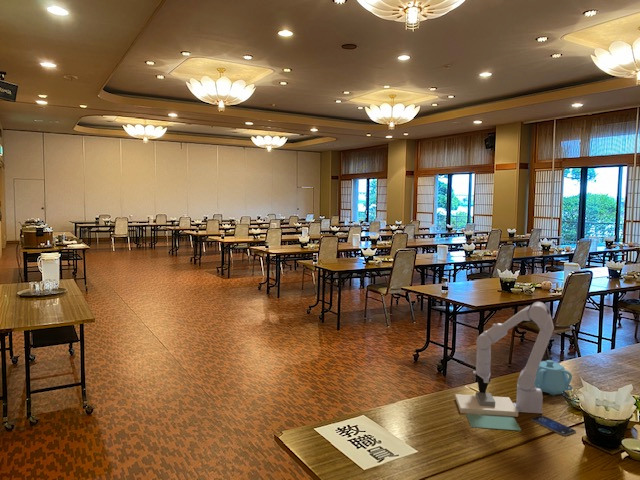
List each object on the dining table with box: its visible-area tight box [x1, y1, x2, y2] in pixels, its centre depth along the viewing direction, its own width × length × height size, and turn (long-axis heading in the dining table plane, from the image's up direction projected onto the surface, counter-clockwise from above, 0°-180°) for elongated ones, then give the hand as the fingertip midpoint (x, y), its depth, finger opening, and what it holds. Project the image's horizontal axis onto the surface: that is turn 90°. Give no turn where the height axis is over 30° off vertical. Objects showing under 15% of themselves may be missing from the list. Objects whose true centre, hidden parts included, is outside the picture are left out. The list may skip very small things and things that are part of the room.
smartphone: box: [530, 414, 577, 437], centre depth 183 cm, size 7×1×15 cm
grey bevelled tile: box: [475, 391, 495, 407], centre depth 199 cm, size 6×9×2 cm, turn 173°
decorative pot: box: [534, 359, 573, 396], centre depth 216 cm, size 16×16×14 cm
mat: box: [465, 413, 522, 432], centre depth 185 cm, size 18×11×1 cm, turn 83°
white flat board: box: [454, 393, 519, 418], centre depth 198 cm, size 22×14×2 cm, turn 83°
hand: (482, 393), depth 205 cm, fingers closed
